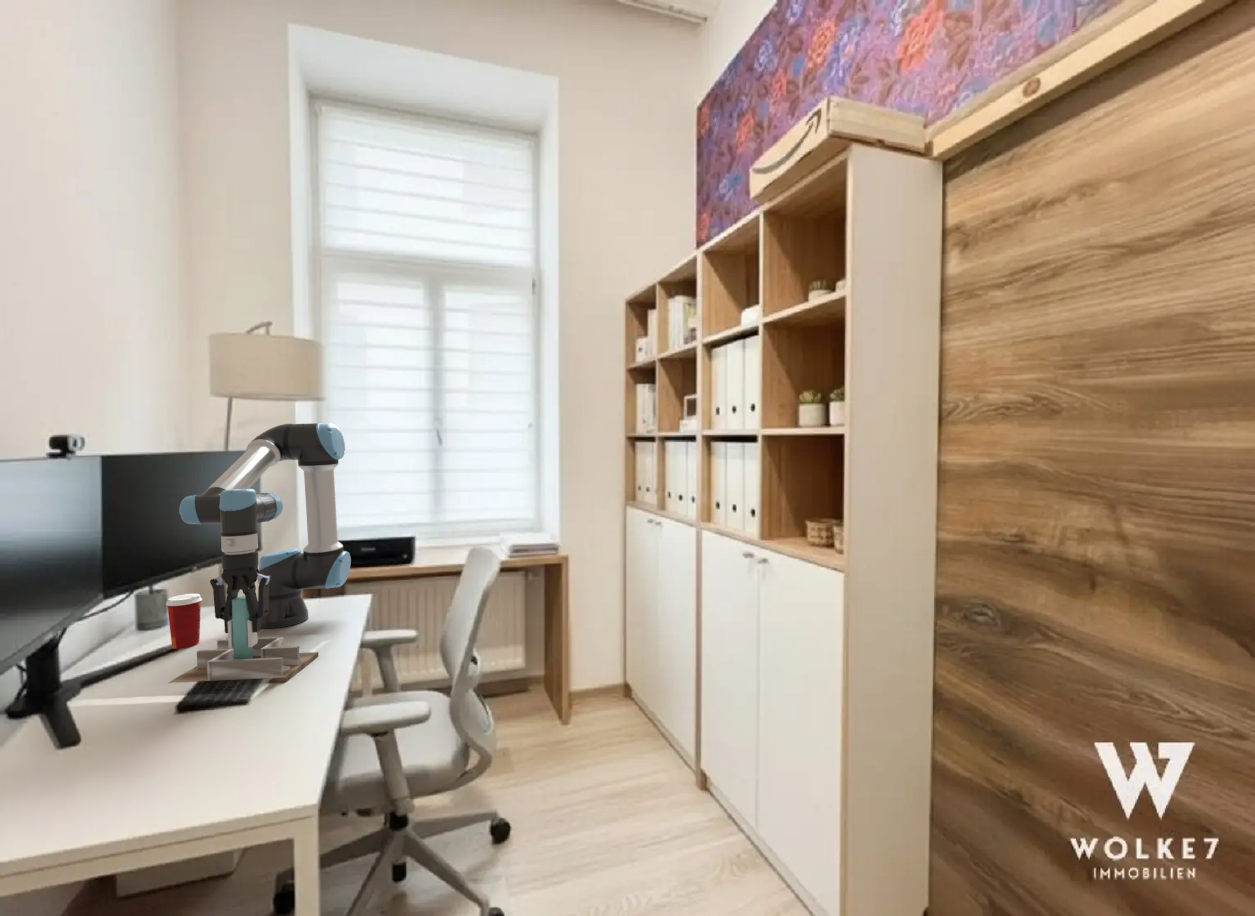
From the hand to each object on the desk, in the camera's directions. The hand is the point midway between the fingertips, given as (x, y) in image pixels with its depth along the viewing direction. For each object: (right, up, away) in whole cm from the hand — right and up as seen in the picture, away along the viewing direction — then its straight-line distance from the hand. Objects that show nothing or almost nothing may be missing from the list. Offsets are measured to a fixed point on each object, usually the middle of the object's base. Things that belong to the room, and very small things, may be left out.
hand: (243, 645), depth 143 cm
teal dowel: (0, -4, 0) cm, 4 cm away
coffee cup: (-31, -8, +21) cm, 38 cm away
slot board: (-1, -8, +4) cm, 9 cm away
